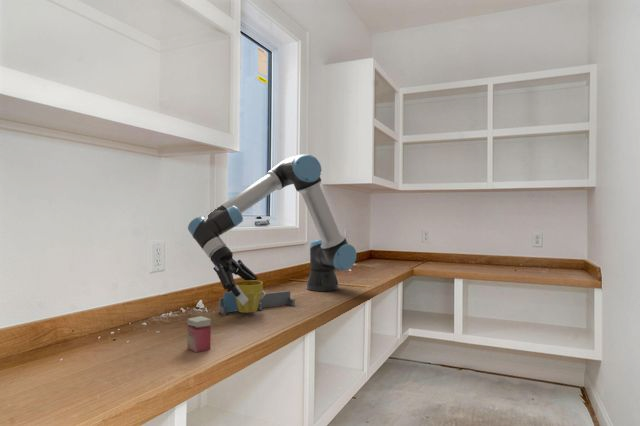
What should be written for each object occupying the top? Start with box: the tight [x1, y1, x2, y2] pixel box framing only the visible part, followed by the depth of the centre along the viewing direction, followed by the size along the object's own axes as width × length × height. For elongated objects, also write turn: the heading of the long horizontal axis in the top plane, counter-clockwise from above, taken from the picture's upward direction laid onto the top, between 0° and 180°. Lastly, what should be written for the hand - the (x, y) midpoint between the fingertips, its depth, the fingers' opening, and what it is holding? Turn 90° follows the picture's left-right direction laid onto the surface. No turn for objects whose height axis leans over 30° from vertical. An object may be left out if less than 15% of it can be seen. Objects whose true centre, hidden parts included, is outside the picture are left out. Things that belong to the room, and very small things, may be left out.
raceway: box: [218, 290, 296, 316], centre depth 154 cm, size 28×5×7 cm, turn 121°
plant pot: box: [234, 279, 264, 314], centre depth 144 cm, size 10×10×10 cm
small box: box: [186, 315, 212, 353], centre depth 108 cm, size 5×4×8 cm
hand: (254, 299), depth 143 cm, fingers closed on plant pot, 10 cm apart
